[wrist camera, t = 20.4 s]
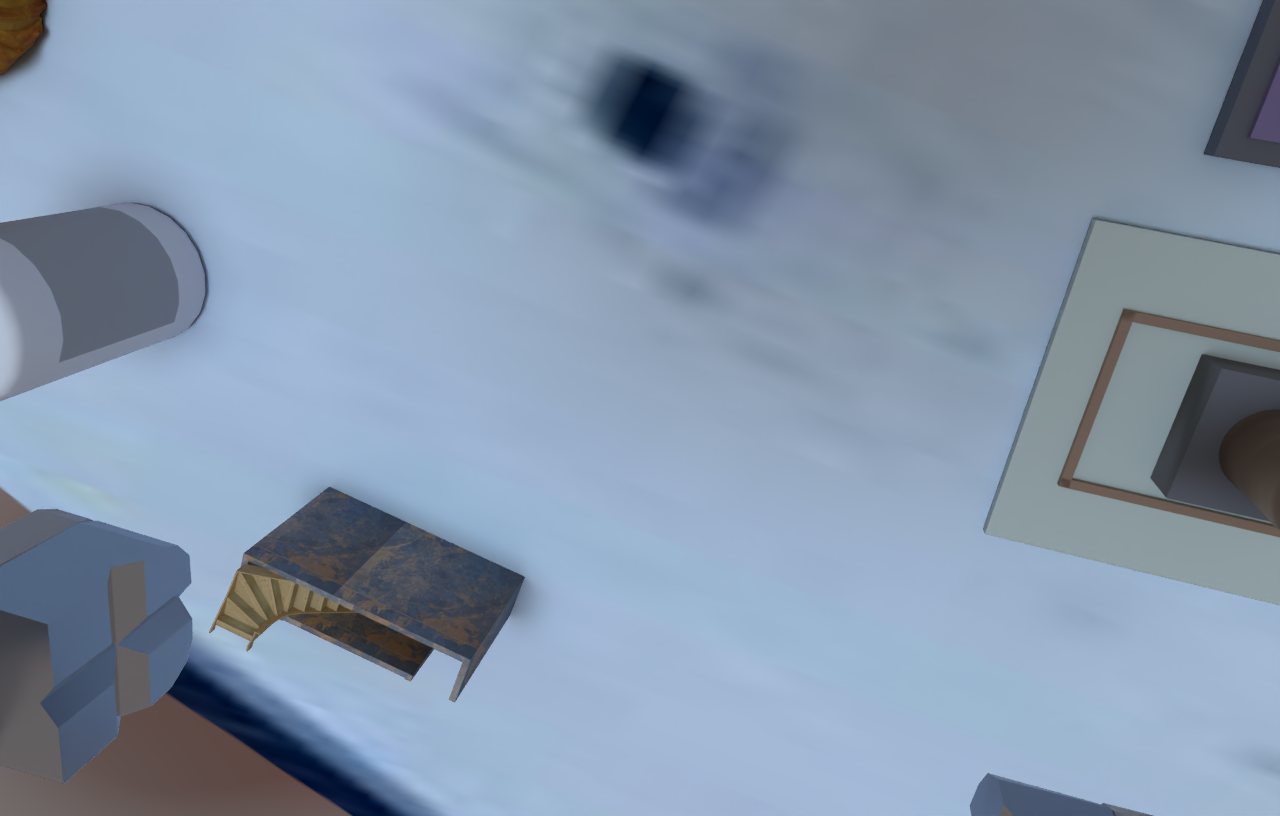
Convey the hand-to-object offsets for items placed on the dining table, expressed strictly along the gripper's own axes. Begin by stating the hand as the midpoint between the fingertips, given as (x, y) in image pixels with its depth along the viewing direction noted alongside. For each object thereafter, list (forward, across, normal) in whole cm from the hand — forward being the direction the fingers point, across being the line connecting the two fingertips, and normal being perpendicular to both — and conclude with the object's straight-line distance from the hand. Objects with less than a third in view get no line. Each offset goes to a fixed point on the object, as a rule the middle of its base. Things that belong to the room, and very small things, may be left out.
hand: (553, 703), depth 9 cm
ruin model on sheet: (+32, +14, +20) cm, 40 cm away
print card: (+31, -20, +4) cm, 37 cm away
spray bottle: (+31, +30, +8) cm, 44 cm away
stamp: (+31, -20, +4) cm, 37 cm away
